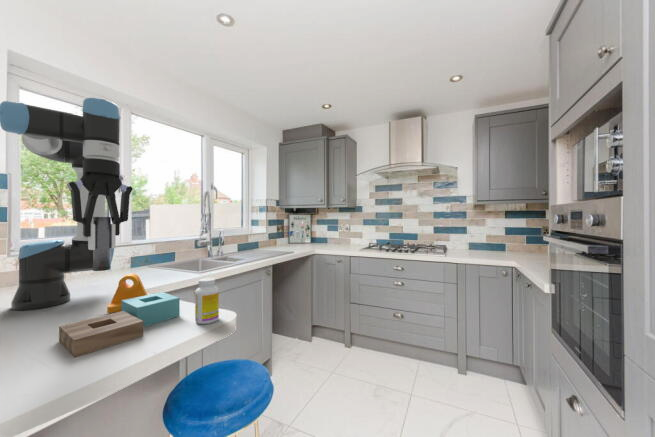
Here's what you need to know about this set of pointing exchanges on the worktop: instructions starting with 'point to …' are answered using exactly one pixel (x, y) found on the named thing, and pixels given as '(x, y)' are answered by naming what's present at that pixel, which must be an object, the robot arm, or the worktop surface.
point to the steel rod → (102, 244)
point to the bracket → (126, 292)
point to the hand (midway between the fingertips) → (102, 248)
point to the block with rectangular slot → (152, 307)
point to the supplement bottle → (206, 302)
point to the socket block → (99, 332)
